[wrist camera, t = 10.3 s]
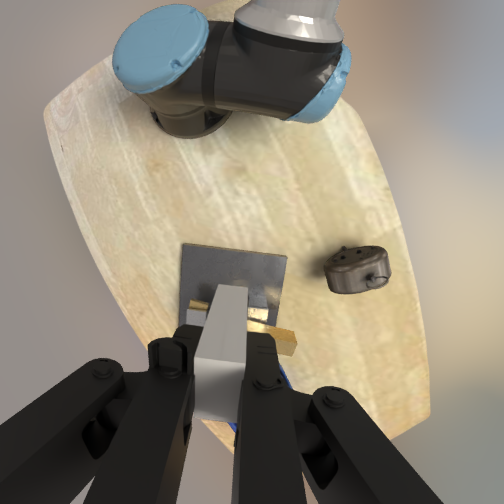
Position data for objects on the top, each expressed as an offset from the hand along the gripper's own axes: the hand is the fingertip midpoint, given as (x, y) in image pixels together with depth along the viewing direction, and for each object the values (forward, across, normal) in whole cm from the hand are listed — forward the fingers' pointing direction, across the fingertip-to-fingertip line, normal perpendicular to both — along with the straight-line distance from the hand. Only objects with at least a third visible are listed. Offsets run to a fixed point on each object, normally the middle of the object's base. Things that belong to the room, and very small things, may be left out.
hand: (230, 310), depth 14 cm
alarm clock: (+35, +19, -3) cm, 39 cm away
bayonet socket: (+34, -1, -14) cm, 37 cm away
